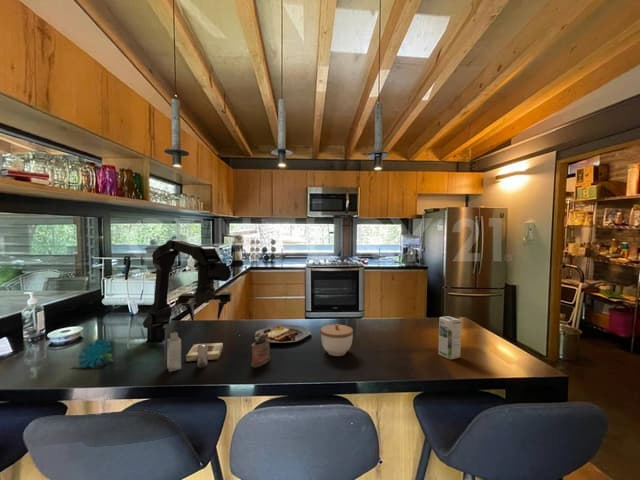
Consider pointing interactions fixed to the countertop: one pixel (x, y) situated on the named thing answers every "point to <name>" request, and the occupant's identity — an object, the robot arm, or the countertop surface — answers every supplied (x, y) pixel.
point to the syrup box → (449, 337)
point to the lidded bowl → (336, 339)
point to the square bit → (173, 352)
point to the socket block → (212, 354)
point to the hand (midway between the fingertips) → (205, 320)
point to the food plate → (284, 333)
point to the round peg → (202, 355)
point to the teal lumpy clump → (95, 353)
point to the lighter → (260, 350)
